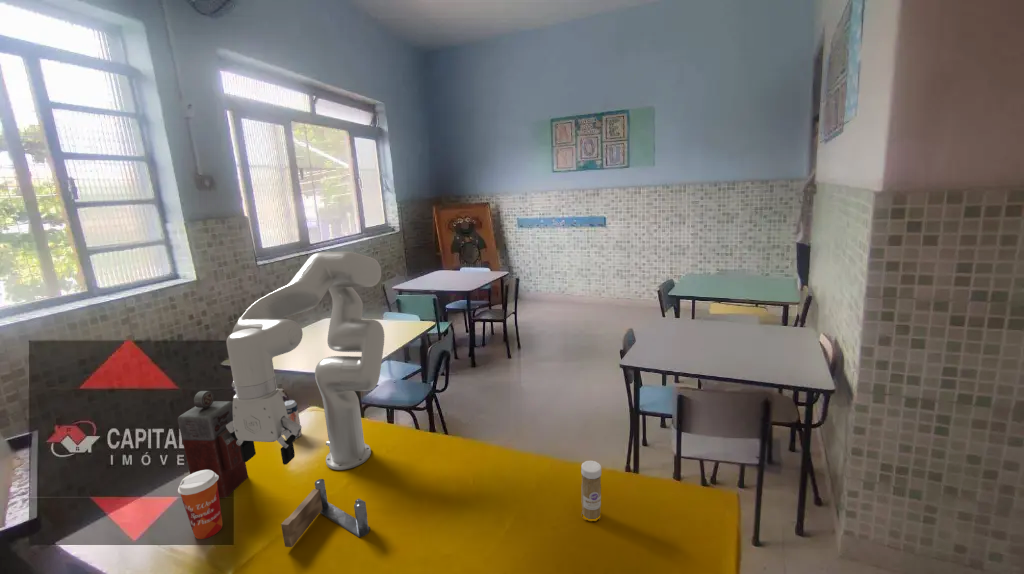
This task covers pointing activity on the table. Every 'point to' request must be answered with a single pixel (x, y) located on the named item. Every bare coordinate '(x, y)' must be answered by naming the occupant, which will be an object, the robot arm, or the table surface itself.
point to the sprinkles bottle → (591, 489)
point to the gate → (301, 518)
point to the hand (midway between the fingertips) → (269, 459)
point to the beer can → (292, 412)
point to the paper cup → (202, 503)
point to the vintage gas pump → (212, 442)
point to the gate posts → (342, 518)
